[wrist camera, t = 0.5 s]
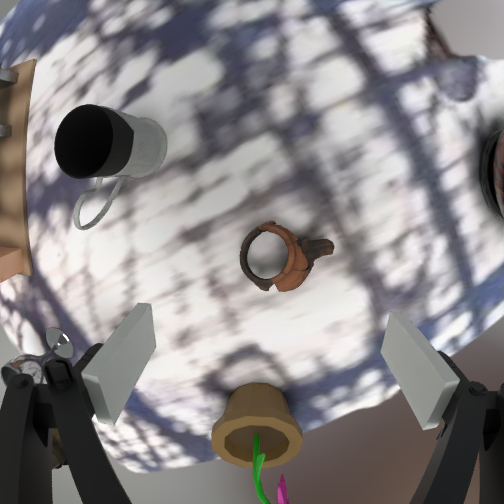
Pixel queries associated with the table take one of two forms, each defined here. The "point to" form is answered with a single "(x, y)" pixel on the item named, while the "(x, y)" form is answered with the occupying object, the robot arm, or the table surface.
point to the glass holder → (107, 149)
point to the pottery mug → (297, 258)
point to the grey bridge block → (3, 79)
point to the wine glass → (38, 358)
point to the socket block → (10, 262)
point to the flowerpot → (258, 433)
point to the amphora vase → (494, 172)
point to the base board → (15, 163)
